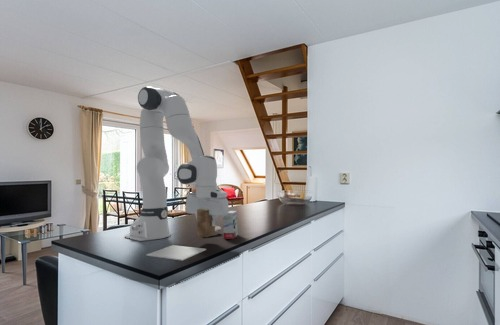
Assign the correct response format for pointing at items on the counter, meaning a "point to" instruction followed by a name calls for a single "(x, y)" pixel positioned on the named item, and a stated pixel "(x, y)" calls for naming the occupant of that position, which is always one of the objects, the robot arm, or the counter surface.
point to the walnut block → (204, 223)
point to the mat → (176, 252)
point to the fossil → (217, 230)
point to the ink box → (230, 225)
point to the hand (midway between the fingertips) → (206, 225)
